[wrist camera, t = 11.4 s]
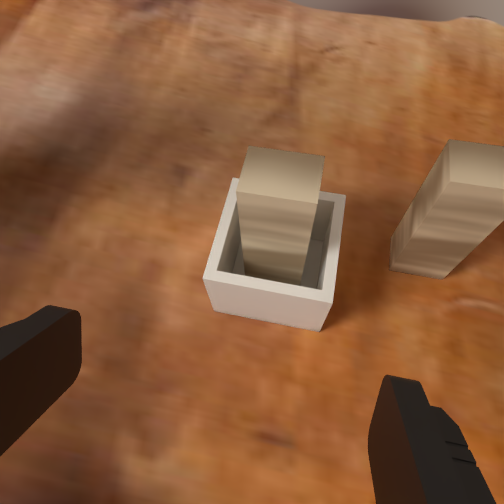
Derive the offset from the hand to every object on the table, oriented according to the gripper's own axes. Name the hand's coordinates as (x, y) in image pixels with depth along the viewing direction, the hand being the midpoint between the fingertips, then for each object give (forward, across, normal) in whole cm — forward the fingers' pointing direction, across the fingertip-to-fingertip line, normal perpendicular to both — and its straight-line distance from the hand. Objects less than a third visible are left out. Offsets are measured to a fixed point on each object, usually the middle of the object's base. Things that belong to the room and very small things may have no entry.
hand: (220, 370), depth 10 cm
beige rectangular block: (+22, -11, +2) cm, 25 cm away
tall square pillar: (+19, 0, +4) cm, 19 cm away
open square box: (+20, 0, +4) cm, 20 cm away
